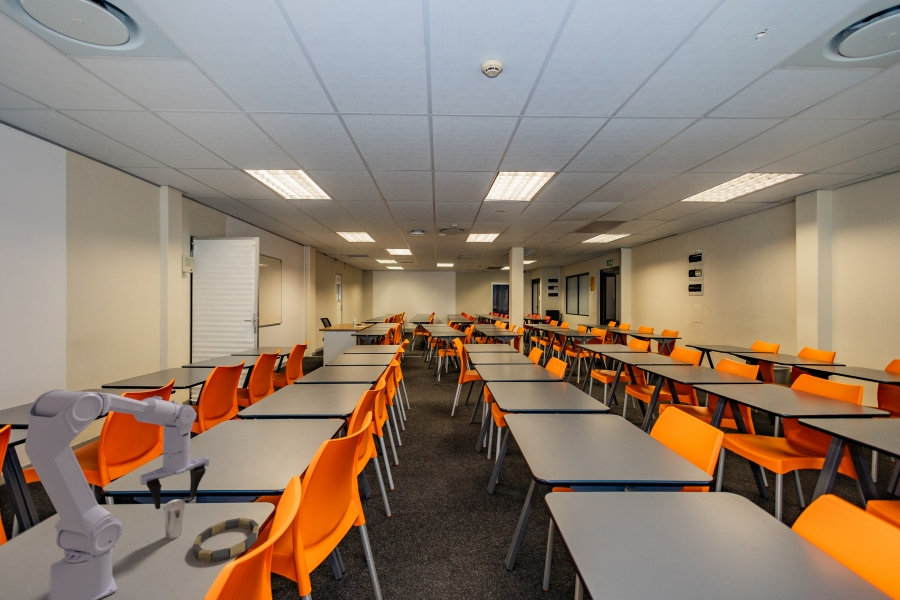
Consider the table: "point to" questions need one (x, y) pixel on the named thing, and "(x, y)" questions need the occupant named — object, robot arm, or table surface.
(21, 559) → the table surface
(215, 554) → the ring
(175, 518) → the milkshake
